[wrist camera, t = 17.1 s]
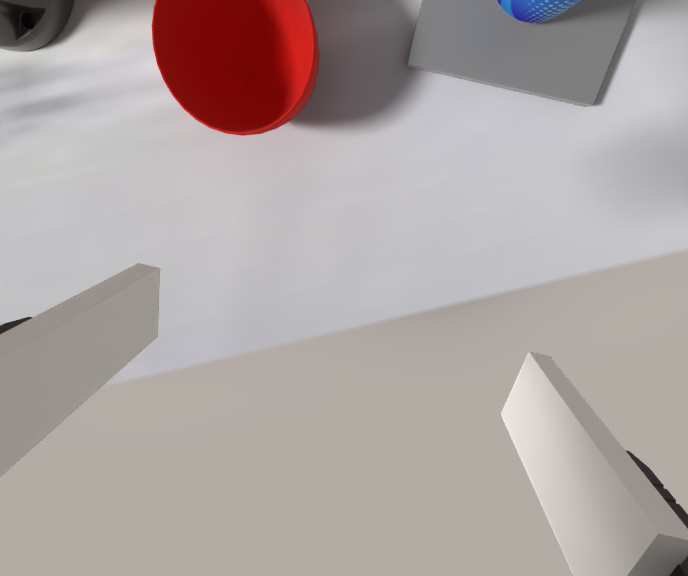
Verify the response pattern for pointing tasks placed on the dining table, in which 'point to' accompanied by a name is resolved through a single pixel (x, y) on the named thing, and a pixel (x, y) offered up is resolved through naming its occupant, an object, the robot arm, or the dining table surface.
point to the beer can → (535, 9)
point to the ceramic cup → (237, 60)
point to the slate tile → (521, 46)
